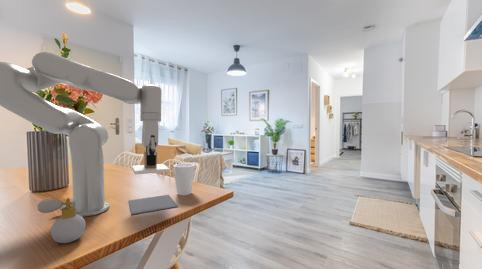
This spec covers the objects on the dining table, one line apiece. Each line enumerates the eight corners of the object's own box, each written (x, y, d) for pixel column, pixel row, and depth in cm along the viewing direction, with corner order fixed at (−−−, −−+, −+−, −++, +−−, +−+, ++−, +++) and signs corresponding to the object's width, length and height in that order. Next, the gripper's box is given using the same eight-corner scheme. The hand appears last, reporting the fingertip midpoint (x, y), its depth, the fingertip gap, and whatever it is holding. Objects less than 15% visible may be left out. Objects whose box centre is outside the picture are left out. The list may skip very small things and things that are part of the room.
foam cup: (182, 197, 97) (182, 167, 96) (169, 193, 103) (169, 165, 102) (199, 192, 104) (198, 164, 104) (186, 189, 110) (185, 162, 110)
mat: (131, 215, 78) (131, 214, 78) (128, 201, 92) (128, 200, 92) (177, 206, 86) (177, 205, 86) (168, 195, 100) (168, 194, 100)
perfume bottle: (89, 239, 61) (88, 196, 61) (42, 255, 54) (41, 206, 54) (81, 231, 66) (80, 191, 66) (37, 244, 59) (35, 199, 58)
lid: (134, 174, 80) (135, 154, 80) (132, 168, 91) (132, 150, 90) (169, 171, 86) (169, 153, 86) (163, 166, 97) (163, 149, 96)
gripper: (138, 117, 93) (137, 161, 94) (143, 116, 78) (142, 168, 79) (157, 118, 97) (156, 160, 97) (165, 117, 82) (164, 167, 83)
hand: (150, 164), depth 88 cm, fingers closed on lid, 4 cm apart
